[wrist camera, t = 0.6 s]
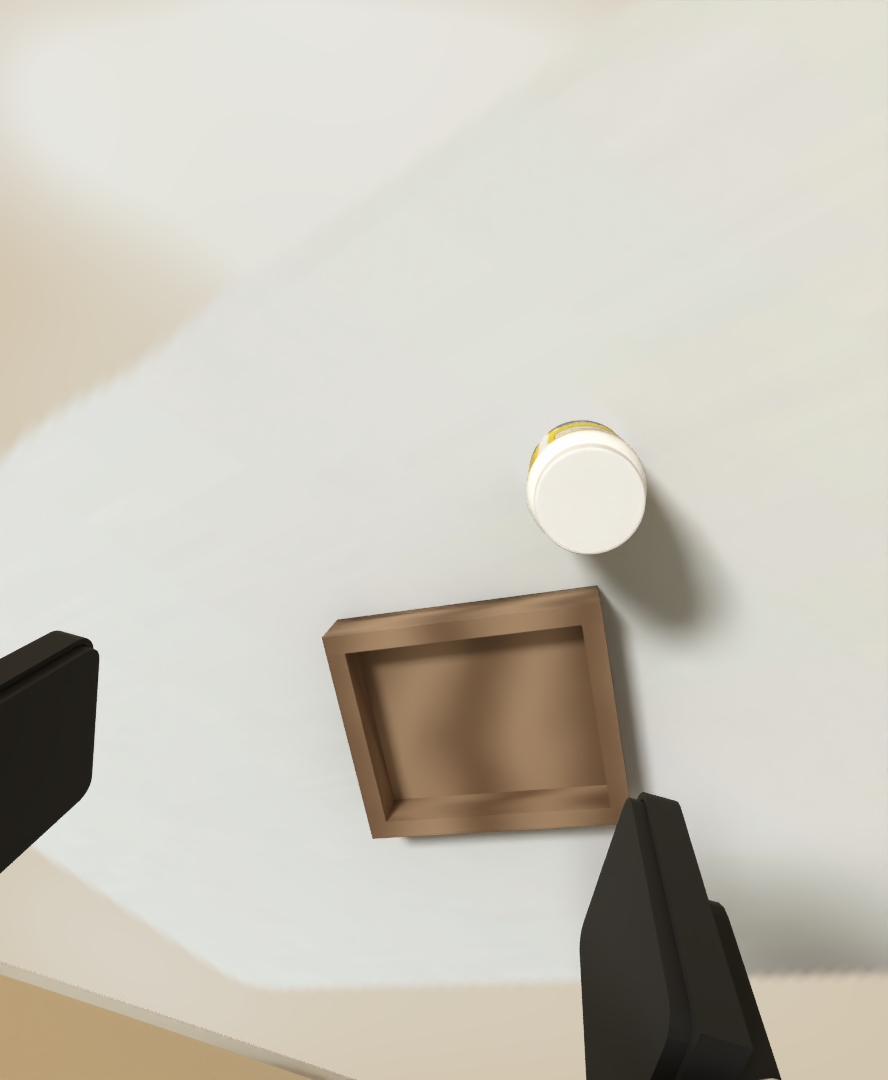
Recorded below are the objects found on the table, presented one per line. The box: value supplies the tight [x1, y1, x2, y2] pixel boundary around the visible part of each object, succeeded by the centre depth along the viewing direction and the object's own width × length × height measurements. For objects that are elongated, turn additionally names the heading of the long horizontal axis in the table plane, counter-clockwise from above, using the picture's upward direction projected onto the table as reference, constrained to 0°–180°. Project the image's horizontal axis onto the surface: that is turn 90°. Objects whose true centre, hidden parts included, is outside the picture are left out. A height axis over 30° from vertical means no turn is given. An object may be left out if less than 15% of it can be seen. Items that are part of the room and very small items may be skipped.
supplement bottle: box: [526, 420, 647, 555], centre depth 27 cm, size 5×5×8 cm
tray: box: [322, 586, 629, 839], centre depth 34 cm, size 14×12×2 cm
